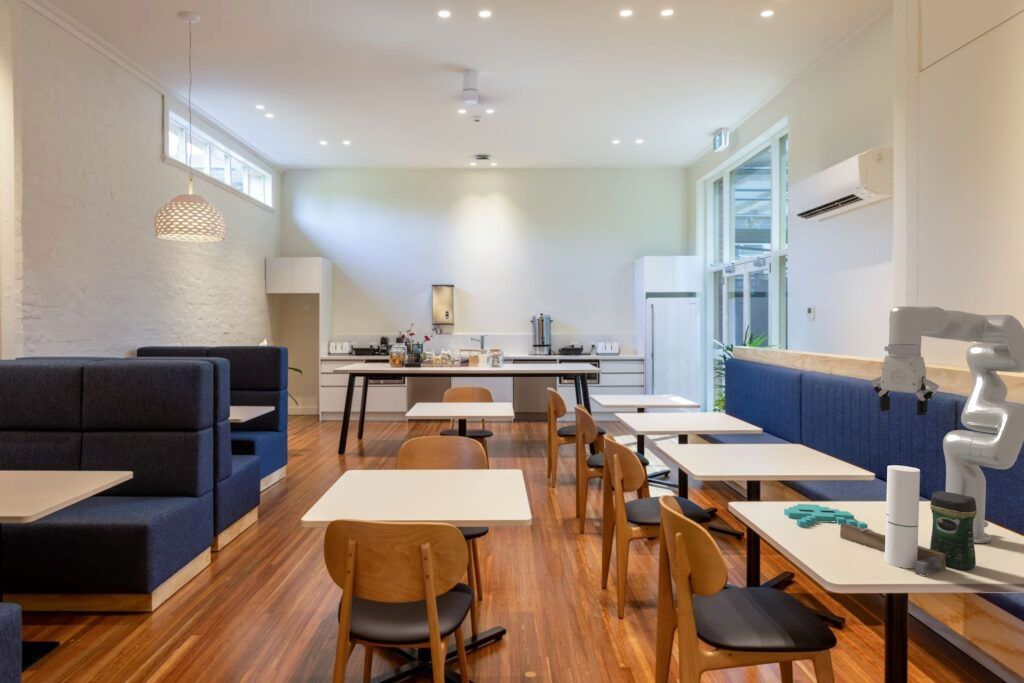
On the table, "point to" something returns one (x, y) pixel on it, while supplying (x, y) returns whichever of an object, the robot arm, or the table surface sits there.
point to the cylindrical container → (902, 516)
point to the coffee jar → (954, 528)
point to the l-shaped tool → (926, 557)
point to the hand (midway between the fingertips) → (902, 412)
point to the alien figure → (821, 515)
